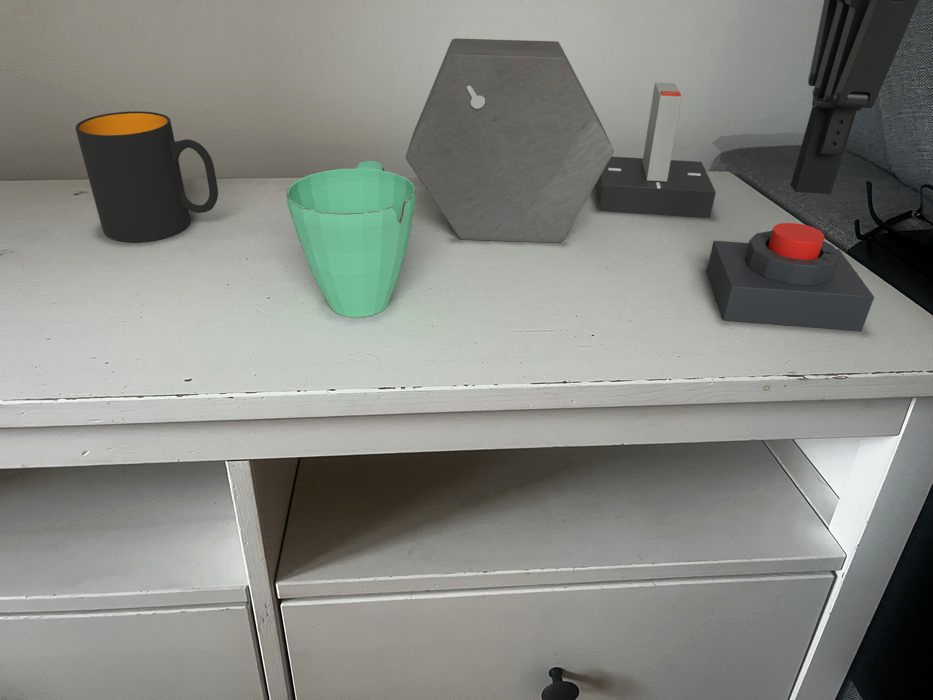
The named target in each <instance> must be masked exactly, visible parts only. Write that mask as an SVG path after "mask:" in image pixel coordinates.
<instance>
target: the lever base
mask: <svg viewBox="0 0 933 700" xmlns="http://www.w3.org/2000/svg"><path fill="white" fill-rule="evenodd" d="M642 162H643V157H627V156H625V157H624V156H612V157H611V158H610V160H609V162H608V164H607V165H606V167H605V169H604V170H603V172H602V174H601V176H600V177H599V179H598V181H597V183H596V194H597V204H598V211H601V212H614V213H615V212H616V213H629V214H643V215H644V214H645V215H646V214H647V215H660V216H677V217H678V216H679V217H692V218H705V219H706V218H707V219H710V218H711V216H712V211H713V206H714V202H715V197H716V194H717V191H716V189H715V187H714V185H713V183H712V181H711V179H710V176H709V175H708V172H707V171H706V169H705V165H704V164H703V162H702V161H696V160H679V159H677V160H676V159H671V162H670V168H669V173H668V179H667V182H664V181H648V180H647V179H646V175H645V171H644V167H643V163H642Z"/></svg>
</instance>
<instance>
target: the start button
mask: <svg viewBox="0 0 933 700" xmlns="http://www.w3.org/2000/svg"><path fill="white" fill-rule="evenodd" d="M771 231H772V234H771V237H770V241H769V245H768V249H769V250H771V251H773V252H774V253H776V254H778V255H782V256H785V257H789V258H793V259H805V260H811V259H816V258H818V256H819V253H820V250H821V247H822V244H823V241H825V234H824V233H823V232H822V231H821V230H819V229H817V228H816V227H813V226H810V225H806V224H803V223H798V222H782V223H777V224H775V225H774V226H773V227H772V230H771Z"/></svg>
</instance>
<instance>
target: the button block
mask: <svg viewBox="0 0 933 700" xmlns="http://www.w3.org/2000/svg"><path fill="white" fill-rule="evenodd" d="M771 234H772V230H767V231H761V232H757V233H755V234H754V235H753V236H752V237H751V238H750V239H749V240H748V242H741V241H740V242H738V241H725V240H713V241H712V245H711V250H710V254H709V259H708V262H707V263H708V264H707V267H706V275H707V277H708V281H709V283H710V286H711V288H712V292H713V294H714V297H715V300H716V303H717V306H718V309H719V312H720V314H721V317H722V320H723V321H727V322H738V323H739V322H740V323H751V324H753V323H754V324H763V325H764V324H766V325H778V326H791V327H803V328H814V329H815V328H818V329H830V330H842V331H854V332H862V331H863V329H864V325H865V323H866V320H867V319H868V315H869V312H870V310H871V307H872V305H873V302H874V299H875V296H874V294H873V293H872V291H871V290H870V289H869V288H868V286H867V285H866V283H865V282H864V280H862V278H861V276H860V275H859V274H858V273H857V271H856V270H855V269H854V267H853V266H852V265H851V263H850V261H849V260H847V259H848V258H846V257H845V255H844V254H843V252H842V251H841V250H840V249H839V248H836V247H835V246H834V245H833V244H831V243H829V242H826V241H825V240H824V241H823V244H822V247H821V250H820V253H819V256H818V258H816V259H811V260H805V259H793V258H789V257H785V256H782V255H778V254H776V253H774V252H773V251H771V250H769V249H768V245H769V241H770V237H771Z"/></svg>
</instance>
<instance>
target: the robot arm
mask: <svg viewBox="0 0 933 700" xmlns="http://www.w3.org/2000/svg"><path fill="white" fill-rule="evenodd" d="M919 2H920V0H823V6H822V9H821V15H820V20H819V25H818V30H817V35H816V40H815V46H814V51H813V56H812V60H811V66H810V71H809V75H808V80H807V81H808V82H807V84H808V86H809V87H813V90H812V100H811V101H812V102H811V104H812V105H811V106H812V107H811V110H810V114H809V117H808V121H807V124H806V128H805V132H804V135H803V139H802V141H801V145H800V148H799V149H800V150H799V153H798V157H797V160H796V164H795V167H794V171H793V175H792V178H791V181H790V187H791V188H792V190H793V191H794V192H795V193H807V194H808V193H809V194H822V195H823V194H824V195H831V194H832V191H833V187H834V185H835V181H836V179H837V175H838V172H839V168H840V165H841V162H842V159H843V156H844V153H845V150H846V147H847V144H848V140H849V137H850V133H851V130H852V127H853V124H854V122H855V121H854V120H855V118H856V114H857V111H858V112H859V111H861V110H862V109H864V108H865V109H866V108H867V109H872V108H873V107H874V105H875V103H876V100H877V99H878V96H879V94H880V92H881V90H882V87H883V84H884V82H885V80H886V78H887V75H888V73H889V71H890V68H891V66H892V64H893V61H894V59H895V57H896V54H897V52H898V50H899V48H900V45H901V43H902V41H903V38H904V36H905V33H906V32H907V29H908V27H909V24H910V22H911V20H912V18H913V15H914V13H915V11H916V8H917V6H918V3H919Z"/></svg>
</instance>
